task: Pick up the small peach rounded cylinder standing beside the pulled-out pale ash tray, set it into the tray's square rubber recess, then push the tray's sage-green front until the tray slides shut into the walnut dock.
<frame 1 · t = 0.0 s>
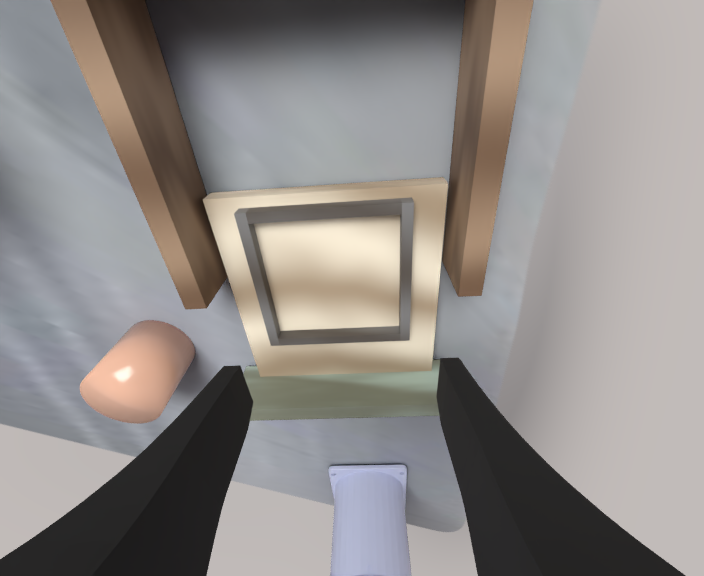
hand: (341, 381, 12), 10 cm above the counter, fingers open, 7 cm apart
dock: (321, 153, 17), on the counter
peach rounded cylinder: (161, 345, 25), on the counter
tray: (335, 314, 20), point 2 cm above the counter, slide at 8.0 cm
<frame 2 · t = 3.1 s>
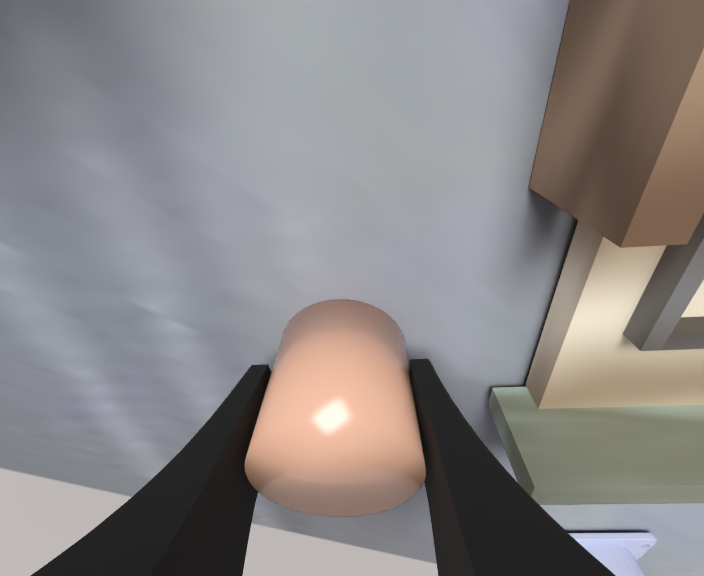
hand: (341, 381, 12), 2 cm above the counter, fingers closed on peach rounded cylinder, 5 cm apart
peach rounded cylinder: (343, 349, 13), on the counter, touching gripper
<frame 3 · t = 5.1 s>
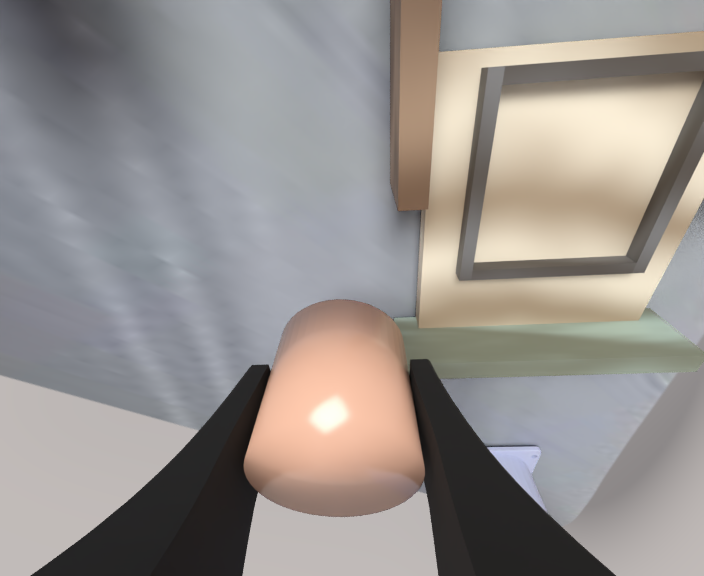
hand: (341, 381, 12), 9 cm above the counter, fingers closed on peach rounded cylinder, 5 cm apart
peach rounded cylinder: (342, 349, 13), point 7 cm above the counter, touching gripper
tray: (564, 233, 15), point 2 cm above the counter, slide at 8.0 cm
when the fingers open (4 cm above the counter, at t = 7.5 s): peach rounded cylinder drops 1 cm, resting on tray.
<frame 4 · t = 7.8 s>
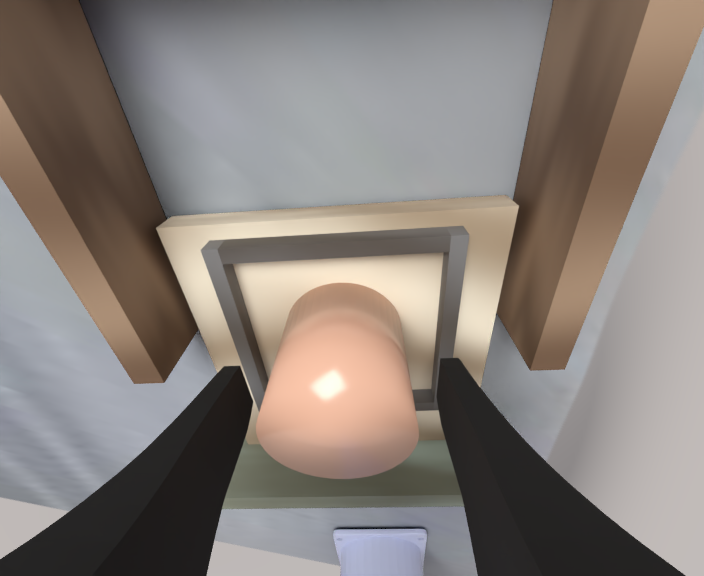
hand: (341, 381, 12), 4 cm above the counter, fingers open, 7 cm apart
dock: (329, 160, 12), on the counter
peach rounded cylinder: (344, 330, 14), point 1 cm above the counter, touching tray
tray: (347, 380, 15), point 2 cm above the counter, slide at 8.0 cm, touching peach rounded cylinder
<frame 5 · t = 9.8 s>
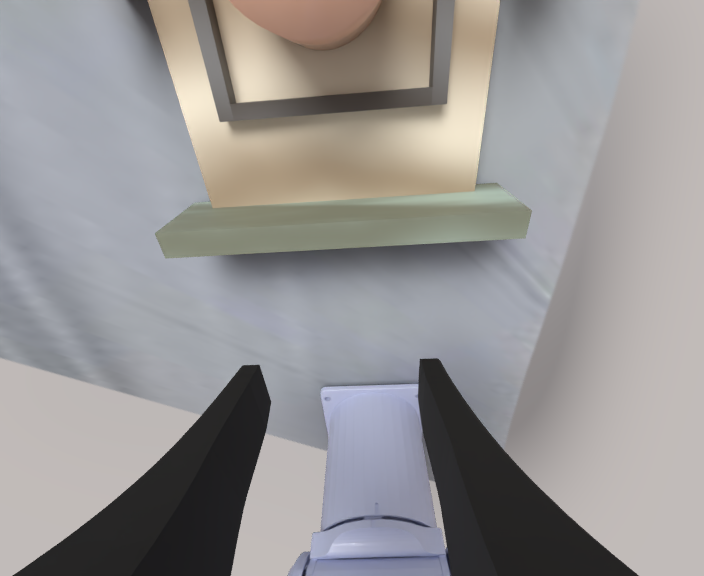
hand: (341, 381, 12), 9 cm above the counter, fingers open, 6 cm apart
tray: (323, 38, 12), point 2 cm above the counter, slide at 8.0 cm, touching peach rounded cylinder
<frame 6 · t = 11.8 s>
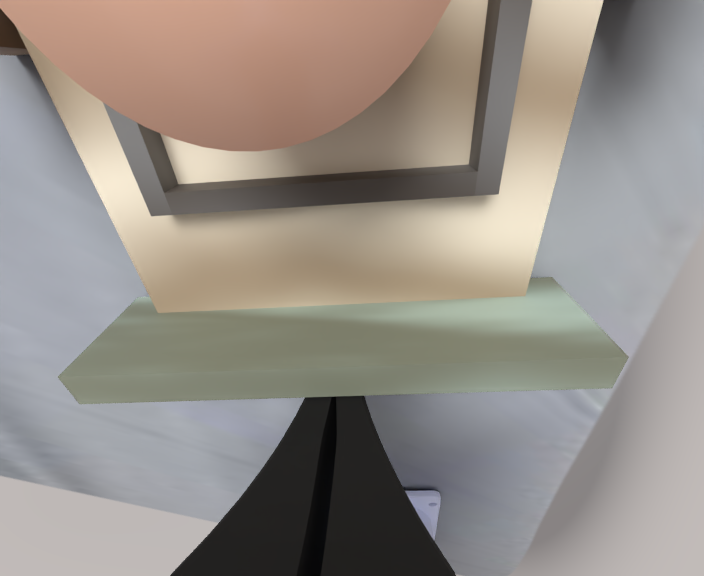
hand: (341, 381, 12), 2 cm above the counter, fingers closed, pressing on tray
tray: (305, 100, 7), point 2 cm above the counter, slide at 7.3 cm, touching gripper, peach rounded cylinder
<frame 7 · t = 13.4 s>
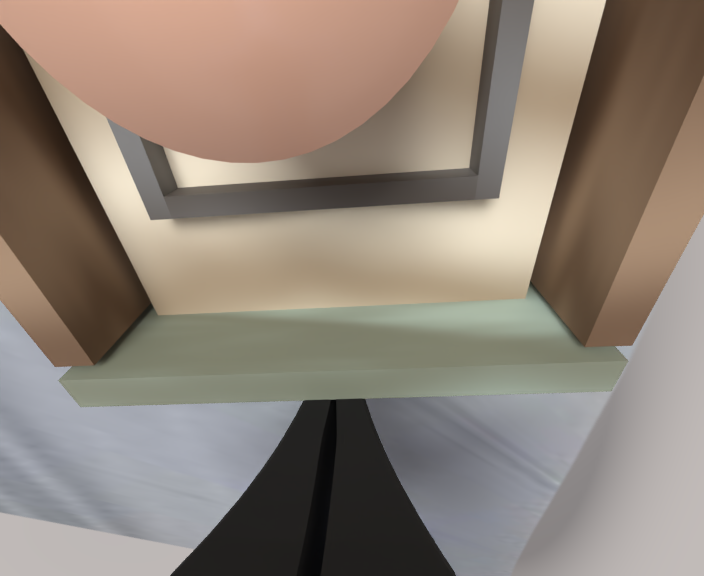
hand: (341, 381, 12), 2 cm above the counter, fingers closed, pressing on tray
dock: (312, 61, 9), on the counter
tray: (305, 105, 7), point 2 cm above the counter, slide at -0.2 cm, touching gripper, peach rounded cylinder
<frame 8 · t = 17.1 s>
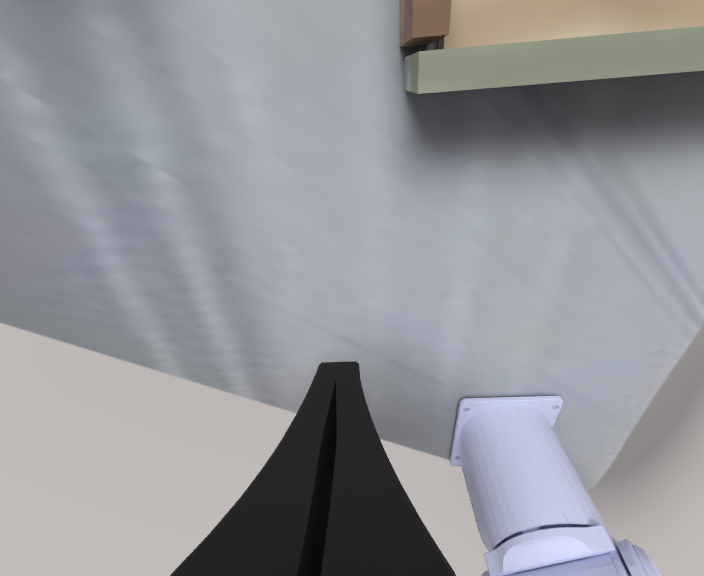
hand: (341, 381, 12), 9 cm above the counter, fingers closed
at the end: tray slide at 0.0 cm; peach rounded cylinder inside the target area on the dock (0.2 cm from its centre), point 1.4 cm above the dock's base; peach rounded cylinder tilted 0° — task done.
